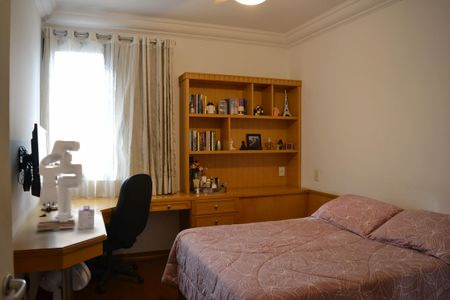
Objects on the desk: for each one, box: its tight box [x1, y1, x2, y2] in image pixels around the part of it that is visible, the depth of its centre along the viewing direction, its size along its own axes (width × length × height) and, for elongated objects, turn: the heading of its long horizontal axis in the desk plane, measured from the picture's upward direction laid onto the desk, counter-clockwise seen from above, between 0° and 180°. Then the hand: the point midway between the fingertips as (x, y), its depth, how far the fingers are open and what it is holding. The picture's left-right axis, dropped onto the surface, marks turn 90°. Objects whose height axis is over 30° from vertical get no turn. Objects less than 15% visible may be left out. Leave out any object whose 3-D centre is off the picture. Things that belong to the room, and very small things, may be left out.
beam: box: [36, 219, 76, 232], centre depth 223 cm, size 9×22×5 cm, turn 117°
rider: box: [59, 213, 69, 223], centre depth 225 cm, size 4×5×6 cm
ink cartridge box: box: [77, 205, 95, 230], centre depth 229 cm, size 10×6×14 cm, turn 109°
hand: (48, 213), depth 221 cm, fingers closed
